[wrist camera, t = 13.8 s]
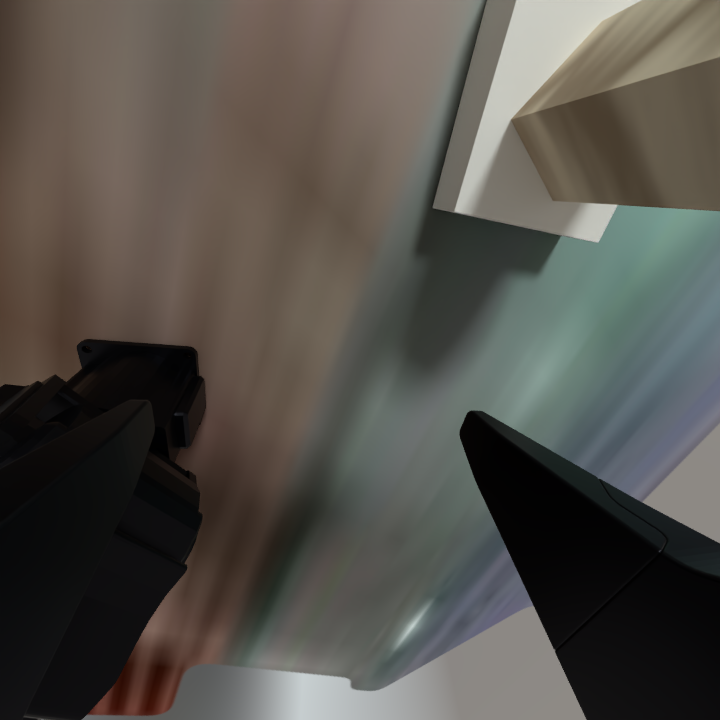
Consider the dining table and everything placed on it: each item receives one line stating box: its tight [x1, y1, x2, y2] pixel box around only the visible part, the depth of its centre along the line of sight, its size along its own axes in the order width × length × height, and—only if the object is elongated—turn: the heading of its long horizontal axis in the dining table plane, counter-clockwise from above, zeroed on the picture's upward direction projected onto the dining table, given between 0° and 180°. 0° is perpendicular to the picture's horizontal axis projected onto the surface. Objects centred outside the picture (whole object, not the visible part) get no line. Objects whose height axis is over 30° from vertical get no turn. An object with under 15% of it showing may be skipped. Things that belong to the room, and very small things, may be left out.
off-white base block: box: [432, 0, 641, 242], centre depth 17 cm, size 10×10×3 cm
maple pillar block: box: [511, 0, 720, 211], centre depth 10 cm, size 5×5×12 cm
